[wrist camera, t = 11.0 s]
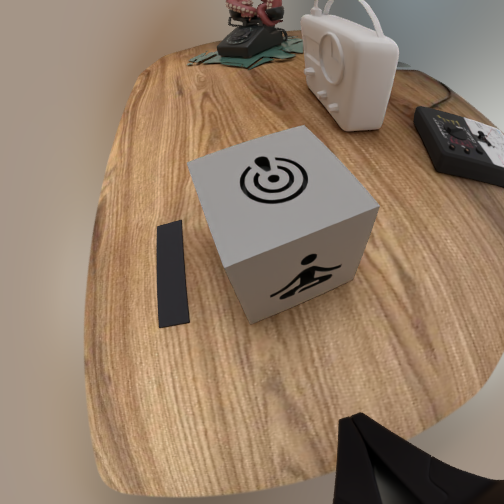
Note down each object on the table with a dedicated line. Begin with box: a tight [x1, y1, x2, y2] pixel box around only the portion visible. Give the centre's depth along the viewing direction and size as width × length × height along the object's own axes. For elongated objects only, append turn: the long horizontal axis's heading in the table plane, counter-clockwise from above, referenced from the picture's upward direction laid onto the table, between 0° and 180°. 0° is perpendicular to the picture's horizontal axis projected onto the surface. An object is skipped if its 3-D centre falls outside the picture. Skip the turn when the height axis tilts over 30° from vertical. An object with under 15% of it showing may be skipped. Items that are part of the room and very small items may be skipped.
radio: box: [301, 0, 399, 131], centre depth 30 cm, size 22×8×25 cm, turn 9°
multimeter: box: [414, 106, 504, 187], centre depth 29 cm, size 13×19×5 cm
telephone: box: [187, 0, 303, 70], centre depth 55 cm, size 35×32×20 cm
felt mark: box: [157, 220, 190, 328], centre depth 27 cm, size 12×3×1 cm, turn 11°
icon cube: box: [187, 125, 380, 324], centre depth 22 cm, size 10×10×10 cm
